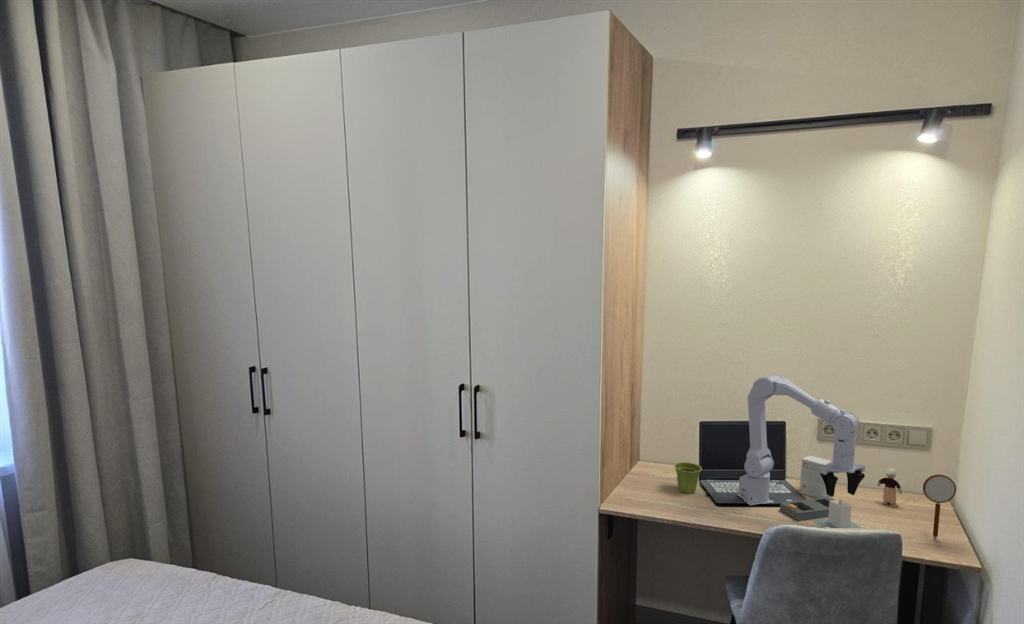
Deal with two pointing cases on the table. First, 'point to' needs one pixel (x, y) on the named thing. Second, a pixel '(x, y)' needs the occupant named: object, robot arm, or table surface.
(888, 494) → the grandmother figurine
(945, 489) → the magnifying glass
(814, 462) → the small box
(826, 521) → the mat
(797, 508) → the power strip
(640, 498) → the table surface
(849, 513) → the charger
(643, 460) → the table surface
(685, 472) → the plant pot
